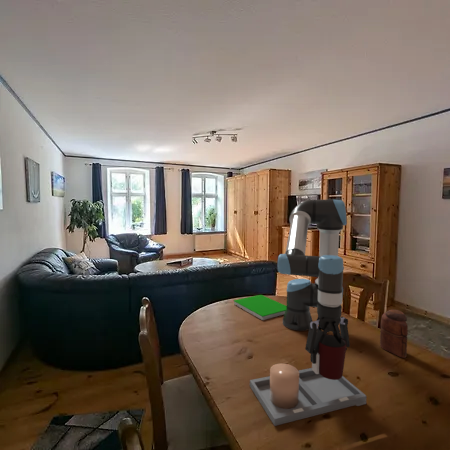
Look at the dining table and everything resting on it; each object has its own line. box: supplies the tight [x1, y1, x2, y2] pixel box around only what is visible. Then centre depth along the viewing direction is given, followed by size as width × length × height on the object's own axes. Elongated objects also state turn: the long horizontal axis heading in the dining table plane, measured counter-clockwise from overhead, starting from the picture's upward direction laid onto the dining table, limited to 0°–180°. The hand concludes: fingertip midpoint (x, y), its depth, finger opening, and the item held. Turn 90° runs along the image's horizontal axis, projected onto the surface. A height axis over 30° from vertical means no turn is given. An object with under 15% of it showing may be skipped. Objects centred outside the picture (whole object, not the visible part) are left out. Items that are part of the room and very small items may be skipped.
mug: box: [318, 333, 347, 380], centre depth 93 cm, size 12×9×11 cm
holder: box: [249, 367, 367, 427], centre depth 92 cm, size 32×18×3 cm, turn 108°
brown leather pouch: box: [379, 309, 409, 359], centre depth 119 cm, size 12×6×18 cm, turn 28°
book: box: [233, 294, 287, 321], centre depth 168 cm, size 22×28×3 cm
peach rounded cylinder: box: [269, 362, 299, 409], centre depth 89 cm, size 9×9×9 cm
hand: (326, 369), depth 94 cm, fingers closed on mug, 8 cm apart
